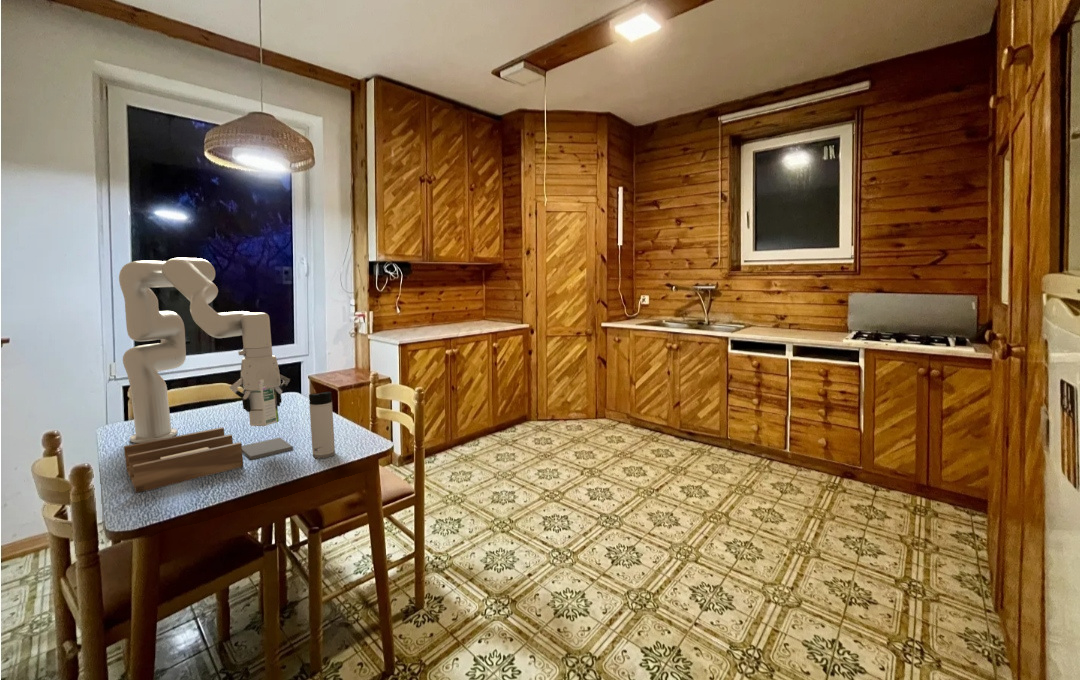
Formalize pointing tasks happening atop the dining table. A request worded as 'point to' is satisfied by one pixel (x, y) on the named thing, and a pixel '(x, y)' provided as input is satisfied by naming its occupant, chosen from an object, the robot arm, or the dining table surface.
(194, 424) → the dining table surface
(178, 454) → the upper offcut
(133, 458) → the walnut rack
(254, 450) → the rubber mat
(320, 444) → the travel mug
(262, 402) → the syrup box
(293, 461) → the dining table surface
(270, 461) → the dining table surface
